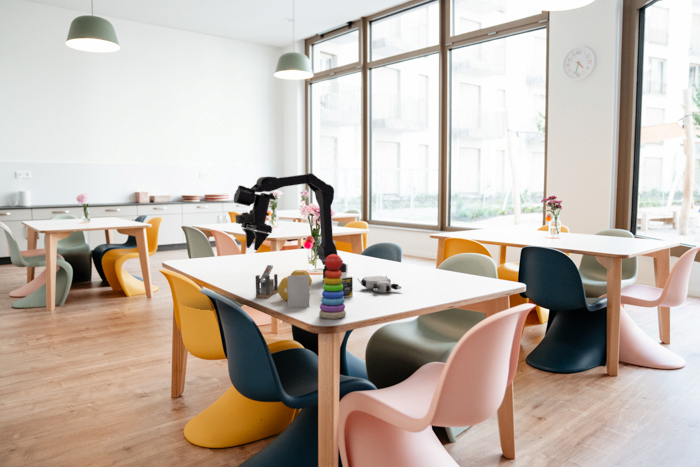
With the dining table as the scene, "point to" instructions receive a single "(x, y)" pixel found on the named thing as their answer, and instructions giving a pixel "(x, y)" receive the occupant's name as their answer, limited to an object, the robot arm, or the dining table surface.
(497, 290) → the dining table surface
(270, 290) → the grey and tan frame
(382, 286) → the robot toy
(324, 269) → the robot arm
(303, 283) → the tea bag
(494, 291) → the dining table surface
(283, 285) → the dumbbell
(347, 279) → the medicine bottle
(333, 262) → the stacking toy
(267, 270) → the grey bar
